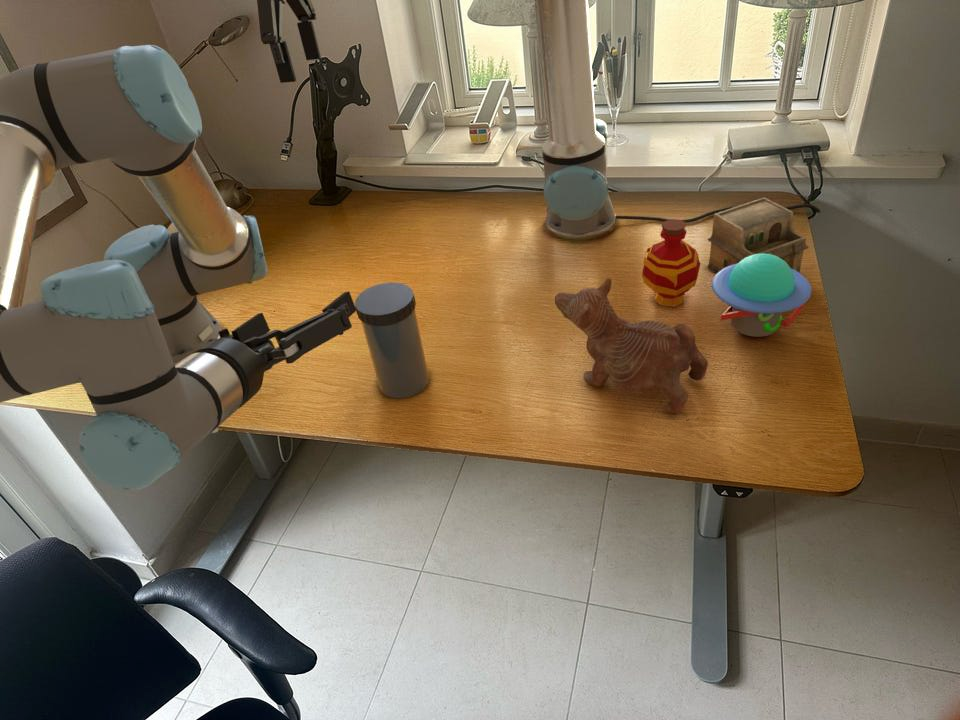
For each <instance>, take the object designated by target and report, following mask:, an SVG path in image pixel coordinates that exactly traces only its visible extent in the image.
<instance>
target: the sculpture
mask: <svg viewBox="0 0 960 720" xmlns="http://www.w3.org/2000/svg"><path fill="white" fill-rule="evenodd" d="M611 288H612V278H610V277H607V278H606V279H605V280H604V281H603V283H602V284H601V285H600V286H599V287H597V288H595V287H585V288H582V289H581V290H579V291H578V292H574V293H573V292H558V293H556V294H555V296H554V305H555V307H556V308H557V309H558V310H559V311H560V312H561V314H562V316H563V317H564V318H565V319H567V320H569V321H570V322H572V323H573V324H574V325H575V326H576V327H577V328H578V329H579V330H580V331H582V332H583V333H584V334H585V335H586V337H587V339H586V345H585V346H586V347H585V348H586V350H587V351H586V352H587V353H588V354H589V356H590V357H591V358H592V360H594V363H593V365H592V369H591V370H587V371H584V372H583V377H582V378H583V381H584V382H585V383H586V384H589V385H590V386H591V385H592V386H594V387H601V386H603V385H604V384H605V383H606V382H607V381H608V379H609V377H610V379H611V380H612V382H613V383H614V384H615V386H616V387H617V388H618V389H620V390H622V391H624V392H626V393H631V394H632V393H634V394H643V393H646V392H649V391H652V390H653V389H654V388H656V387H657V389H659V391H660V392H661V393H663V395H665V396H666V398H668V399H669V402H668V403H667V407H666V409H667V411H668V412H669V413H672V414H680V413H682V411H683V410H684V408H685V406H686V404H687V402H688V400H689V393H688V391H687V389H686V388H685V387H684V386H683V385H682V383H681V381H680V379H681V374H682V373H685V372H687V371H688V370H689V369H690V370H689V371H688V373H687V375H688V378H689V379H690V380H692V381H695V382H699V381H702V380H703V379H704V378H705V376H706V373H707V370H708V365H709V361H708V359H707V358H706V356H704V355H703V353H701V351H700V349H699V348H698V346H697V344H696V336H695V333H694V331H693V329H692V328H691V327H690V326H689V325H688V324H687V323H683V322H679V323H677V324H675V325H674V327H672V326H671V325H669V324H667V323H665V322H662V321H658V320H642V321H634V322H633V321H630V320H627V319H625V318H623V317H621V316H619V315H618V314H617V313H616V311H615V309H614V307H613V306H612V303H611V302H610V300H609V298H608V295H609V293H610V291H611Z"/></svg>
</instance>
